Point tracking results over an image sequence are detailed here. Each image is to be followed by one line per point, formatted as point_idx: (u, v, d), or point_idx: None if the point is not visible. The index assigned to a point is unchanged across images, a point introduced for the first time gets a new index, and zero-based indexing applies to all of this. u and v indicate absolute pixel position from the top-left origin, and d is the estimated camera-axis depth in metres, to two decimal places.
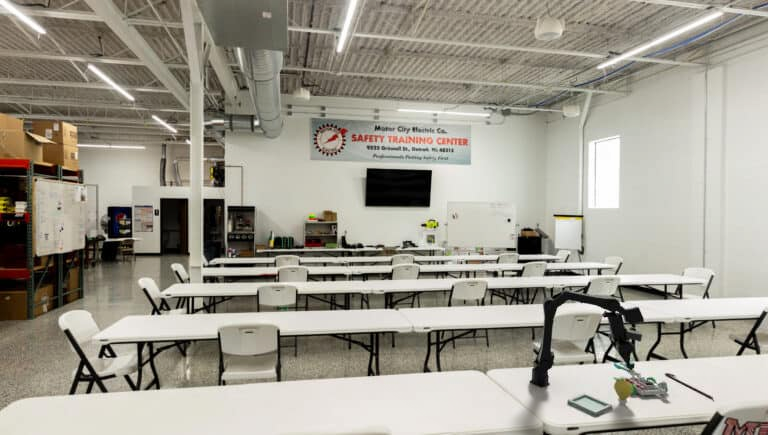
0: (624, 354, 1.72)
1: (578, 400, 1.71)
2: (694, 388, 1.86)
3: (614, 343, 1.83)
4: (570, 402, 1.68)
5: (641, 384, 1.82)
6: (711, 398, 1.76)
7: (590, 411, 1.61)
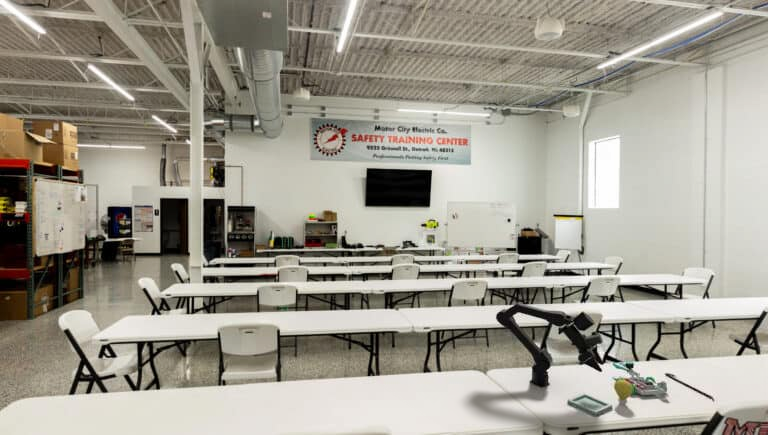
0: (590, 362, 1.71)
1: (578, 400, 1.71)
2: (694, 388, 1.86)
3: None
4: (570, 402, 1.68)
5: (641, 384, 1.82)
6: (711, 398, 1.76)
7: (590, 411, 1.61)
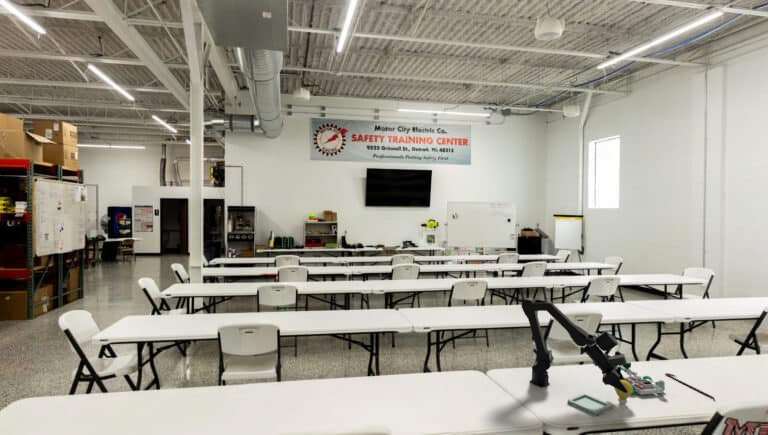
0: (615, 383, 1.67)
1: (578, 400, 1.71)
2: (695, 388, 1.86)
3: None
4: (570, 402, 1.68)
5: (639, 383, 1.82)
6: (712, 398, 1.76)
7: (590, 411, 1.61)
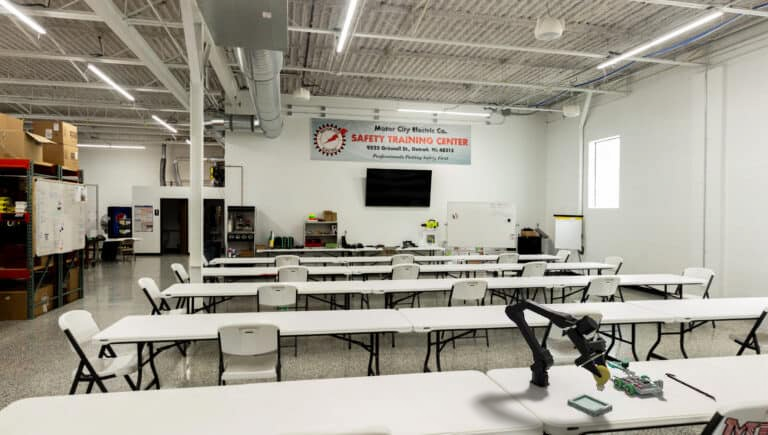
0: (590, 367, 1.66)
1: (578, 400, 1.71)
2: (695, 388, 1.86)
3: (594, 360, 1.73)
4: (570, 402, 1.68)
5: (638, 383, 1.83)
6: (713, 398, 1.77)
7: (590, 411, 1.61)
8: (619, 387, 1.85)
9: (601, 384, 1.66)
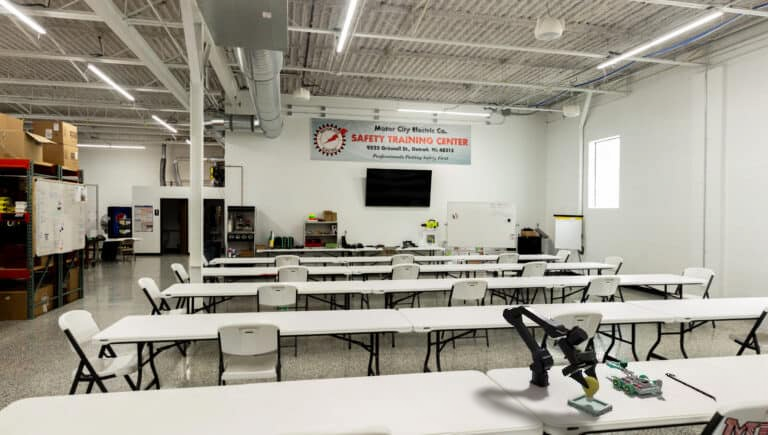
0: (577, 377, 1.67)
1: (578, 400, 1.71)
2: (696, 388, 1.86)
3: (585, 371, 1.73)
4: (570, 402, 1.68)
5: (638, 383, 1.83)
6: (713, 398, 1.77)
7: (590, 411, 1.61)
8: (618, 387, 1.85)
9: (589, 395, 1.66)
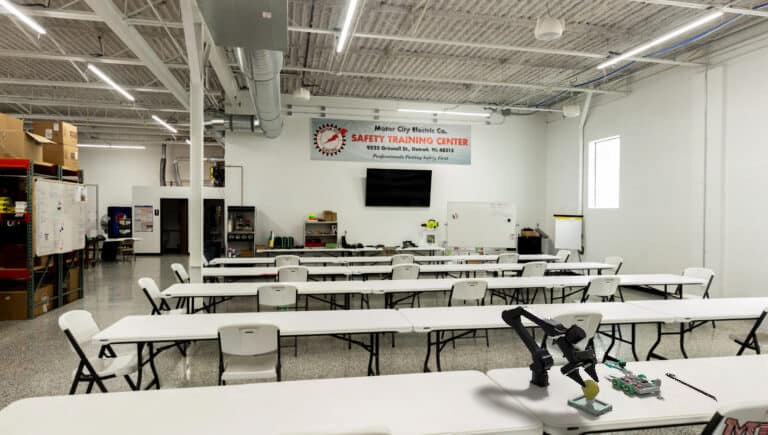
0: (574, 376, 1.67)
1: (578, 400, 1.71)
2: (696, 388, 1.86)
3: (585, 369, 1.74)
4: (570, 402, 1.68)
5: (637, 382, 1.83)
6: (714, 398, 1.77)
7: (590, 411, 1.61)
8: (618, 387, 1.85)
9: (590, 398, 1.66)
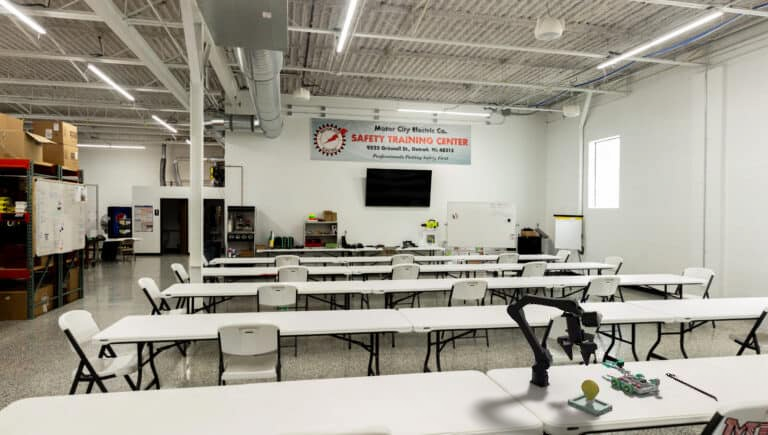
0: (586, 354, 1.73)
1: (578, 400, 1.71)
2: (696, 388, 1.86)
3: (565, 346, 1.83)
4: (570, 402, 1.68)
5: (636, 382, 1.83)
6: (715, 398, 1.77)
7: (590, 411, 1.61)
8: (617, 387, 1.85)
9: (590, 398, 1.66)
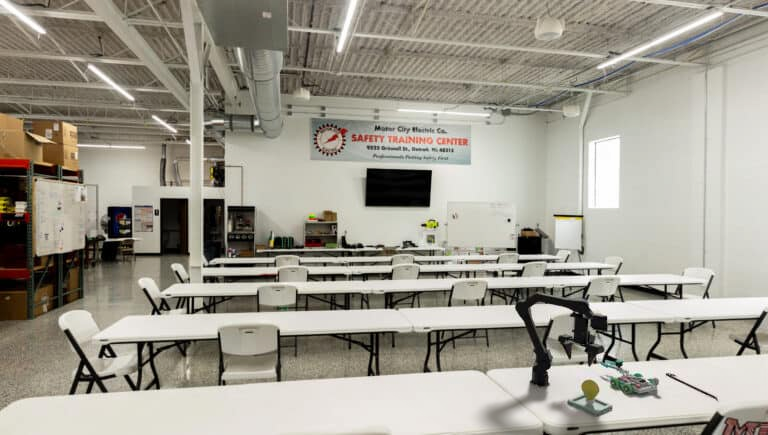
0: (591, 356, 1.74)
1: (578, 400, 1.71)
2: (697, 388, 1.86)
3: (567, 345, 1.83)
4: (570, 402, 1.68)
5: (635, 382, 1.84)
6: (715, 398, 1.77)
7: (590, 411, 1.61)
8: (617, 387, 1.85)
9: (590, 398, 1.66)
